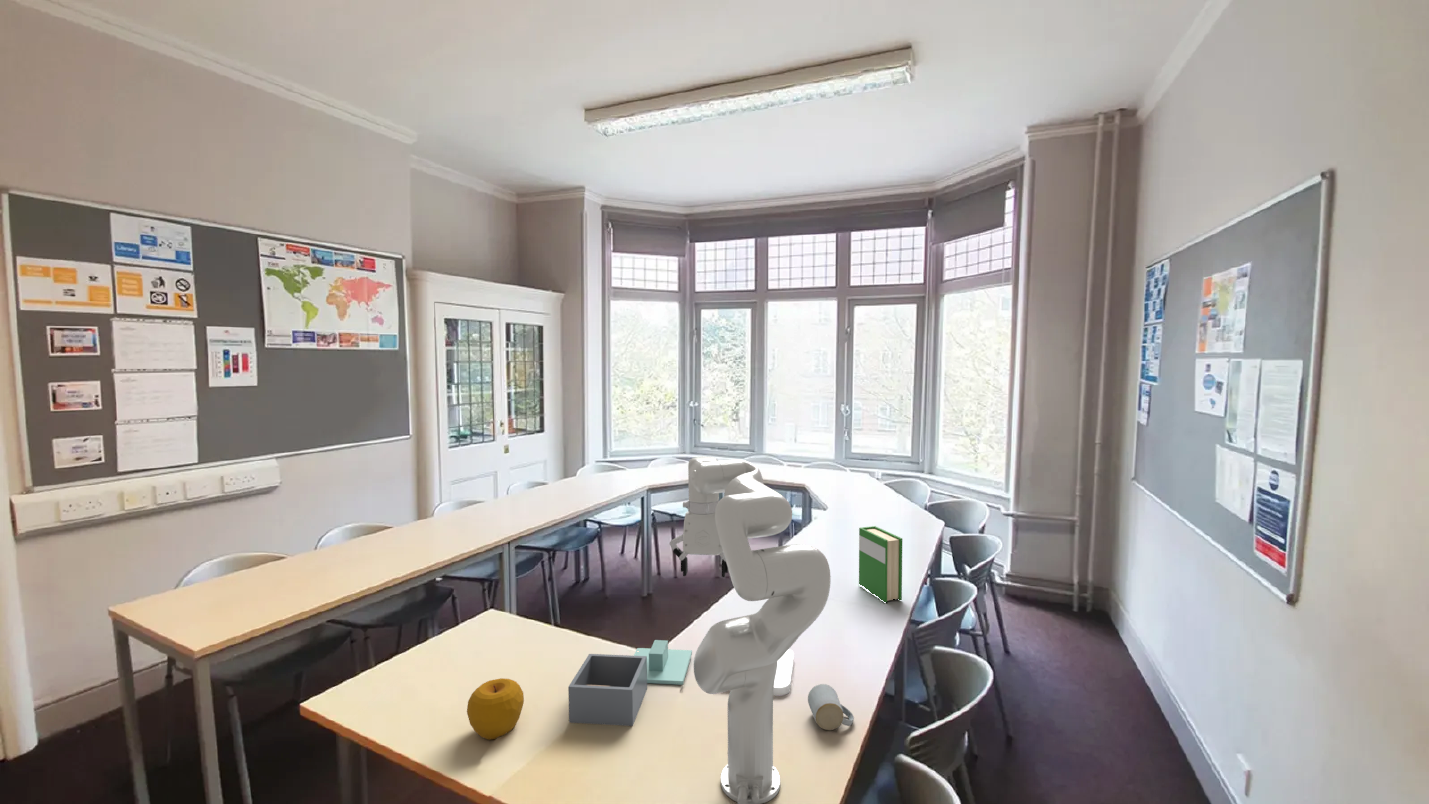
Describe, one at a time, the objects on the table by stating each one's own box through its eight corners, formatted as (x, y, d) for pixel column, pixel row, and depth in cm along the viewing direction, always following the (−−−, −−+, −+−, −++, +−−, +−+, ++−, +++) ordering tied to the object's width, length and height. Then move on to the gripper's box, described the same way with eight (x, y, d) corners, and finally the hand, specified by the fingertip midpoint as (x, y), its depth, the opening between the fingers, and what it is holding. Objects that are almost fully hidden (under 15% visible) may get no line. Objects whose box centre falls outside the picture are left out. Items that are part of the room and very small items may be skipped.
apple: (457, 735, 133) (455, 689, 133) (503, 708, 144) (502, 665, 143) (489, 755, 126) (488, 707, 125) (536, 725, 137) (535, 680, 136)
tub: (633, 729, 135) (632, 689, 134) (569, 726, 136) (568, 686, 136) (647, 692, 151) (646, 656, 150) (590, 689, 152) (589, 653, 152)
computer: (789, 698, 148) (789, 688, 148) (708, 689, 153) (708, 680, 152) (794, 657, 169) (794, 648, 169) (723, 650, 174) (723, 641, 174)
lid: (683, 690, 152) (682, 663, 152) (622, 687, 154) (622, 660, 154) (692, 658, 169) (691, 634, 169) (637, 655, 171) (637, 632, 170)
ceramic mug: (815, 733, 133) (815, 702, 133) (807, 712, 141) (807, 683, 141) (858, 732, 134) (859, 701, 133) (847, 711, 142) (848, 682, 141)
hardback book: (901, 601, 209) (902, 538, 208) (884, 603, 207) (885, 540, 206) (874, 584, 226) (875, 526, 225) (858, 586, 224) (859, 527, 223)
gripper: (666, 510, 134) (667, 579, 135) (737, 511, 133) (738, 581, 134) (671, 503, 142) (672, 568, 143) (739, 504, 140) (739, 570, 141)
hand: (704, 574), depth 138 cm, fingers open, 9 cm apart
